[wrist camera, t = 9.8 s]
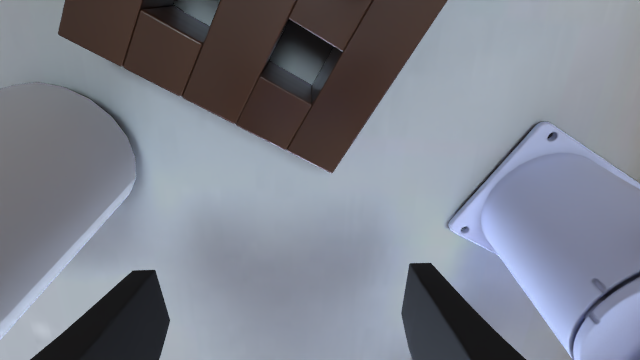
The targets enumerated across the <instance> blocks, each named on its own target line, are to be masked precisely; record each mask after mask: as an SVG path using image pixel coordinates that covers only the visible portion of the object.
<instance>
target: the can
mask: <svg viewBox="0 0 640 360" xmlns="http://www.w3.org/2000/svg"><path fill="white" fill-rule="evenodd" d="M135 179H136V159H135V155H134V153H133V150H132V148H131V145H130V143H129V140H128V138H127V136H126V135H125V133H124V132H123V131H122V129H121V128H120V127H119V125H118V124H117V123H116V122H115V120H114V119H113V118H112V116H110V115H109V114H108V113H107V112H105V111H104V110H103V109H102V108H100V107H99V106H98V105H97V104H95V103H94V102H93V101H92V100H90V99H89V98H86V97H84V96H82V95H80V94H78V93H76V92H74V91H72V90H69V89H67V88H65V87H61V86H56V85H51V84H45V83H40V82H34V83H25V84H16V85H11V86H8V87H5V88H2V89H0V340H1V339H2V337H3V336H4V335H5V334H6V333H7V332H8V331H9V330H10V328H11V327H12V326H13V325H14V324H15V323H16V322H17V321H18V319H19V318H20V317H21V316H22V315H23V314H24V313H25V312H26V310H27V309H28V308H29V307H30V306H31V305H32V304H33V302H34V301H35V300H36V299H37V298H38V297H39V296H40V295H41V293H42V292H43V291H44V290H45V289H46V288H47V287H48V286H49V284H50V283H51V282H52V281H53V280H54V279H55V278H56V277H57V275H58V274H59V273H60V272H61V271H62V270H63V269H64V268H65V266H66V265H67V264H68V263H69V262H70V261H71V260H72V259H73V257H74V256H75V255H76V254H77V253H78V252H79V251H80V250H81V248H82V247H83V246H84V245H85V244H86V243H87V242H88V241H89V239H90V238H91V237H92V236H93V235H94V234H95V233H96V231H97V230H98V229H99V228H100V227H101V226H102V225H103V224H104V222H105V221H106V220H107V219H108V218H109V217H110V216H111V215H112V213H113V212H114V211H115V210H116V209H117V208H118V207H119V206H120V204H121V203H122V202H123V201H124V200H125V199H126V198H127V197H128V195H129V194H130V192H131V190H132V187H133V184H134V182H135Z"/></svg>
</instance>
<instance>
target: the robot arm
mask: <svg viewBox="0 0 640 360" xmlns="http://www.w3.org/2000/svg"><path fill="white" fill-rule="evenodd" d="M552 132H553V135H552V136H551V137H550V138H548V135H549V134H550V133H552ZM547 138H548V139H547ZM463 227H466V228H465V229H463V230H461V228H463ZM449 228H450V230H451V231H452V232H454V233H456V234H458V235H460V236H462V237H464V238H465V239H467V240H469V241H471V242H473V243H475V244H477V245H479V246H481V247H483V248H485V249H487V250H489V251H491V252H493V253H495V254H497V255H499V257H500V258H501V259H502V261H503V262H504V264H505V265H506V266H507V268H508V269H509V271H510V272H511V273H512V275H513V276H514V278H515V279H516V280H517V282H518V283H519V285H520V286H521V287H522V289H523V290H524V292H525V293H526V294H527V296H528V297H529V299H530V300H531V301H532V303H533V304H534V306H535V307H536V309H537V310H538V311H539V313H540V314H541V316H542V317H543V318H544V320H545V321H546V323H547V324H548V325H549V327H550V328H551V330H552V331H553V332H554V334H555V335H556V337H557V338H558V339H559V341H560V342H561V344H562V345H563V346H564V348H565V349H566V351H567V352H568V354H569V355H570V356H571V358H572V359H573V360H640V183H638V182H637V181H635V180H634V179H632V178H631V177H629V176H628V175H626V174H625V173H624V172H622V171H621V170H619V169H618V168H616V167H615V166H613V165H612V164H610V163H609V162H607V161H606V160H604V159H603V158H601V157H600V156H599V155H597V154H596V153H594V152H593V151H591V150H590V149H588V148H587V147H585V146H584V145H582V144H581V143H579V142H578V141H576V140H575V139H574V138H572V137H571V136H569V135H568V134H566V133H565V132H563V131H562V130H560V129H559V128H557V127H556V126H554V125H553V124H551V123H549V122H547V121H543V122H540V123H538V124H537V125H536V126H535V127H534V128H533V129H532V130H531V131H530V132H529V134H528V135H527V136H526V137H525V138H524V139H523V140H522V141H521V142H520V144H519V145H518V146H517V147H516V148H515V149H514V150H513V151H512V152H511V154H510V155H509V156H508V157H507V158H506V159H505V160H504V161H503V162H502V164H501V165H500V166H499V167H498V168H497V169H496V170H495V171H494V172H493V174H492V175H491V176H490V177H489V178H488V179H487V180H486V181H485V182H484V183H483V185H482V186H481V187H480V188H479V189H478V190H477V191H476V192H475V193H474V195H473V196H472V197H471V198H470V199H469V200H468V201H467V202H466V203H465V205H464V206H463V207H462V208H461V209H460V210H459V211H458V212H457V213H456V215H455V216H454V217H453V218H452V219H451V220H450V222H449ZM401 314H402V319H403V324H404V328H405V333H406V338H407V342H408V347H409V350H410V353H411V357H412V360H526V359H525V358H524V357H523V356H521V355H520V354H519V353H518V352H517V351H516V350H515V349H514V348H513V347H512V346H511V345H510V344H509V343H507V342H506V341H505V340H504V339H503V338H502V337H501V336H500V335H499V334H498V333H497V332H496V331H495V330H494V329H493V328H492V327H491V326H490V325H489V324H488V323H487V322H486V321H485V320H484V319H483V318H482V317H481V316H480V315H479V314H478V313H477V312H476V311H475V310H474V309H473V308H472V307H471V306H470V305H469V304H468V303H467V302H466V301H465V300H464V298H463V297H462V296H461V295H460V294H459V293H458V292H457V291H456V290H455V289H454V288H453V287H452V286H451V284H450V283H449V282H448V281H447V280H446V279H445V278H444V277H443V276H442V275H441V274H440V272H439V271H438V270H437V269H436V268H435V267H434V266H433V265H432V264H431V263H411V264H409V270H408V276H407V282H406V289H405V295H404V301H403V307H402V313H401ZM169 322H170V319H169V315H168V312H167V309H166V305H165V302H164V298H163V295H162V292H161V288H160V285H159V281H158V278H157V275H156V271H155V270H137V271H132V272H131V273H130V274H129V275H127V276H126V277H125V278H124V279H123V280H122V281H121V282H119V283H118V284H117V285H116V286H115V287H114V288H113V289H112V290H110V291H109V292H108V293H107V294H106V295H105V296H104V297H103V298H102V299H101V300H99V301H98V302H97V303H96V304H95V305H94V306H93V307H92V308H90V309H89V310H88V311H87V312H86V313H85V314H84V315H83V316H81V317H80V318H79V319H78V320H77V321H76V322H75V323H73V324H72V325H71V326H70V327H69V328H68V329H67V330H65V331H64V332H63V333H62V334H61V335H60V336H58V337H57V338H56V339H55V340H54V341H52V342H51V343H50V344H49V345H47V346H46V347H45V348H44V349H43V350H41V351H40V352H39V353H38V354H37V355H35V356H34V357H33V358H32V359H30V360H159V358H160V355H161V351H162V348H163V345H164V341H165V337H166V334H167V330H168V326H169Z"/></svg>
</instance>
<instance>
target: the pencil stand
mask: <svg viewBox="0 0 640 360" xmlns="http://www.w3.org/2000/svg"><path fill="white" fill-rule="evenodd" d="M173 2H174V0H65V4H64V8H63V13H62V17H61V22H60V27H59V31H58V35H60V36H62V37H64V38H66V39H68V40H70V41H72V42H74V43H76V44H78V45H79V46H81V47H83V48H85V49H87V50H89V51H91V52H93V53H95V54H97V55H99V56H101V57H103V58H105V59H107V60H109V61H111V62H113V63H115V64H117V65H119V66H121V67H124V68H125V69H127V70H129V71H131V72H133V73H135V74H137V75H139V76H141V77H143V78H145V79H147V80H149V81H151V82H153V83H154V84H156V85H158V86H160V87H162V88H164V89H166V90H168V91H170V92H172V93H174V94H176V95H178V96H182V97H183V98H184V99H186V100H188V101H190V102H192V103H194V104H196V105H198V106H200V107H202V108H204V109H206V110H207V111H209V112H211V113H213V114H215V115H217V116H219V117H221V118H223V119H225V120H227V121H229V122H231V123H233V124H236V125H237V126H238V127H240V128H242V129H244V130H246V131H248V132H250V133H252V134H254V135H256V136H258V137H260V138H262V139H264V140H266V141H268V142H270V143H272V144H274V145H276V146H278V147H280V148H282V149H284V150H286V149H287V151H288V152H290V153H292V154H294V155H296V156H298V157H300V158H302V159H304V160H306V161H308V162H310V163H312V164H314V165H316V166H317V167H319V168H321V169H323V170H325V171H327V172H329V173H333V172H334V170H335V169H336V167H337V165H338V164H339V162H340V161H341V159H342V158H343V156H344V155H345V153H346V152H347V150H348V149H349V147H350V146H351V144H352V143H353V141H354V140H355V138H356V137H357V135H358V134H359V132H360V131H361V129H362V128H363V126H364V125H365V123H366V122H367V120H368V119H369V117H370V116H371V114H372V113H373V111H374V110H375V108H376V107H377V105H378V104H379V102H380V101H381V99H382V98H383V96H384V95H385V93H386V92H387V90H388V89H389V87H390V86H391V84H392V83H393V81H394V80H395V78H396V77H397V75H398V74H399V72H400V71H401V69H402V68H403V66H404V65H405V63H406V62H407V60H408V59H409V57H410V56H411V54H412V53H413V51H414V50H415V48H416V47H417V45H418V44H419V42H420V41H421V39H422V38H423V36H424V35H425V33H426V32H427V30H428V29H429V27H430V26H431V24H432V23H433V21H434V20H435V18H436V17H437V15H438V14H439V12H440V11H441V9H442V8H443V6H444V5H445V3H446V2H447V0H220V3H219V5H218V8H217V10H216V13H215V15H214V18H213V20H212V23H211V25H210V27H209V26H208V25H206V24H204V23H202V22H201V21H199V20H197V19H196V18H194V17H192V16H190V15H189V14H187V13H185V12H183V11H182V10H180V9H178V8H176V7H175V6H172V5H173ZM289 19H290V20H292V21H293V22H295V23H296V24H298V25H300V26H301V27H303V28H305V29H306V30H308V31H309V32H311V33H313V34H314V35H316V36H317V37H319V38H321V39H322V40H324V41H326V42H327V43H329V44H330V45H332V46H334V47H333V49H332V51H331V53H330V54H329V56H328V58H327V60H326V61H325V63H324V65H323V67H322V69H321V70H320V72H319V74H318V76H317V77H316V79H315V81H314V83H313V85H311V84H309V83H307V82H305V81H304V80H302V79H300V78H298V77H297V76H295V75H293V74H291V73H290V72H288V71H286V70H285V69H283V68H281V67H279V66H278V65H276V64H274V63H272V62H271V61H269V59H270V57H271V55H272V53H273V51H274V49H275V47H276V45H277V43H278V41H279V39H280V37H281V35H282V33H283V31H284V29H285V27H286V25H287V23H288V21H289ZM268 61H269V62H268Z"/></svg>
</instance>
